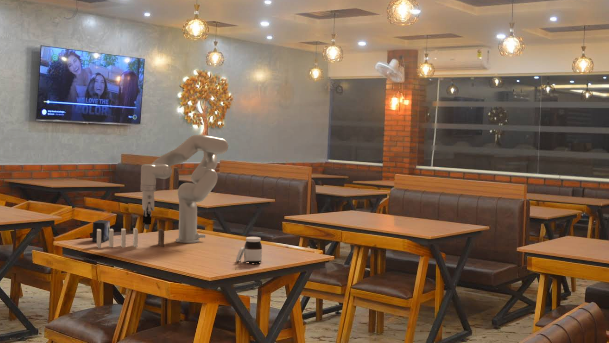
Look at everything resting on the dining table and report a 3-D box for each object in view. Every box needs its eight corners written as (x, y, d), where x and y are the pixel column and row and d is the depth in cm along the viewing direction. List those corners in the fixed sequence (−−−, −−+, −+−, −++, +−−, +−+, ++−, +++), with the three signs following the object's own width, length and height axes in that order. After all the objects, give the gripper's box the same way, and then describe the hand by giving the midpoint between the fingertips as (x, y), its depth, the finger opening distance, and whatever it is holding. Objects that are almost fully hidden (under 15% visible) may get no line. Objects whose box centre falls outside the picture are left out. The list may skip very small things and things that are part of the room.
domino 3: (124, 245, 366) (124, 228, 366) (125, 247, 361) (125, 230, 361) (121, 245, 366) (121, 228, 365) (122, 247, 361) (122, 230, 360)
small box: (104, 242, 374) (104, 222, 373) (91, 242, 374) (92, 222, 373) (110, 239, 384) (110, 220, 384) (98, 239, 384) (98, 219, 384)
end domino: (147, 228, 370) (148, 211, 369) (149, 229, 365) (149, 212, 365) (144, 228, 369) (144, 211, 369) (145, 229, 364) (146, 212, 364)
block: (161, 244, 375) (161, 228, 374) (164, 246, 367) (164, 231, 367) (158, 244, 374) (158, 228, 373) (160, 246, 366) (161, 231, 366)
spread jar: (263, 264, 327) (264, 239, 327) (238, 265, 324) (239, 239, 323) (257, 259, 339) (258, 235, 338) (233, 260, 336) (234, 235, 335)
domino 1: (99, 246, 362) (100, 229, 361) (100, 248, 357) (101, 230, 357) (96, 246, 361) (96, 229, 361) (97, 248, 357) (97, 230, 356)
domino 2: (112, 246, 364) (112, 228, 364) (113, 247, 359) (113, 230, 359) (108, 246, 364) (109, 228, 363) (110, 247, 359) (110, 230, 358)
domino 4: (136, 245, 368) (136, 228, 368) (137, 247, 364) (137, 229, 363) (133, 245, 368) (133, 228, 367) (134, 247, 363) (134, 229, 363)
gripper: (158, 189, 360) (157, 225, 360) (152, 187, 375) (151, 221, 376) (143, 189, 357) (142, 225, 358) (138, 186, 373) (137, 221, 374)
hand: (147, 223), depth 367 cm, fingers closed on end domino, 5 cm apart
